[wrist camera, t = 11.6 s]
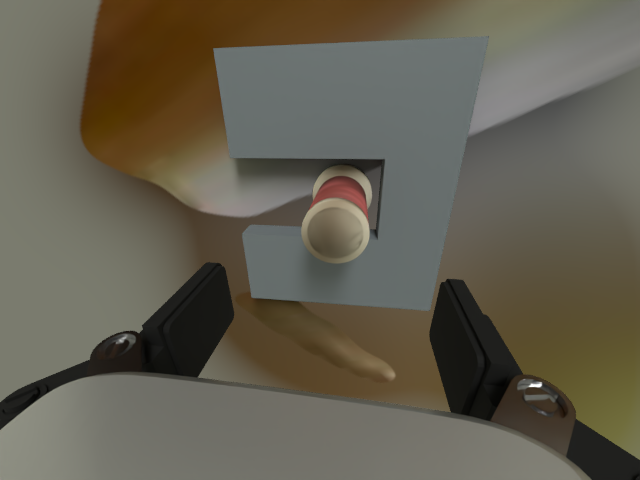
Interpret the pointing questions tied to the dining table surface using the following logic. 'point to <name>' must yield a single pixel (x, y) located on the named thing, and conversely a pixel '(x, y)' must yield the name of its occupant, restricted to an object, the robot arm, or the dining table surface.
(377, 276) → the notched board
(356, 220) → the bobbin
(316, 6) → the dining table surface
